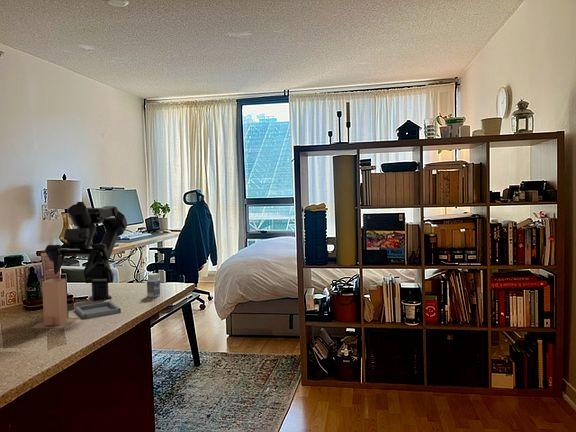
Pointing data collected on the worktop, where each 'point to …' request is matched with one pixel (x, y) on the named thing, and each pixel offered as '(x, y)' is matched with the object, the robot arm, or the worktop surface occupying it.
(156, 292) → the pill bottle
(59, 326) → the peg on square base
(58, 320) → the tan rectangular prism
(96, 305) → the tray
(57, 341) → the worktop surface
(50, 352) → the worktop surface
